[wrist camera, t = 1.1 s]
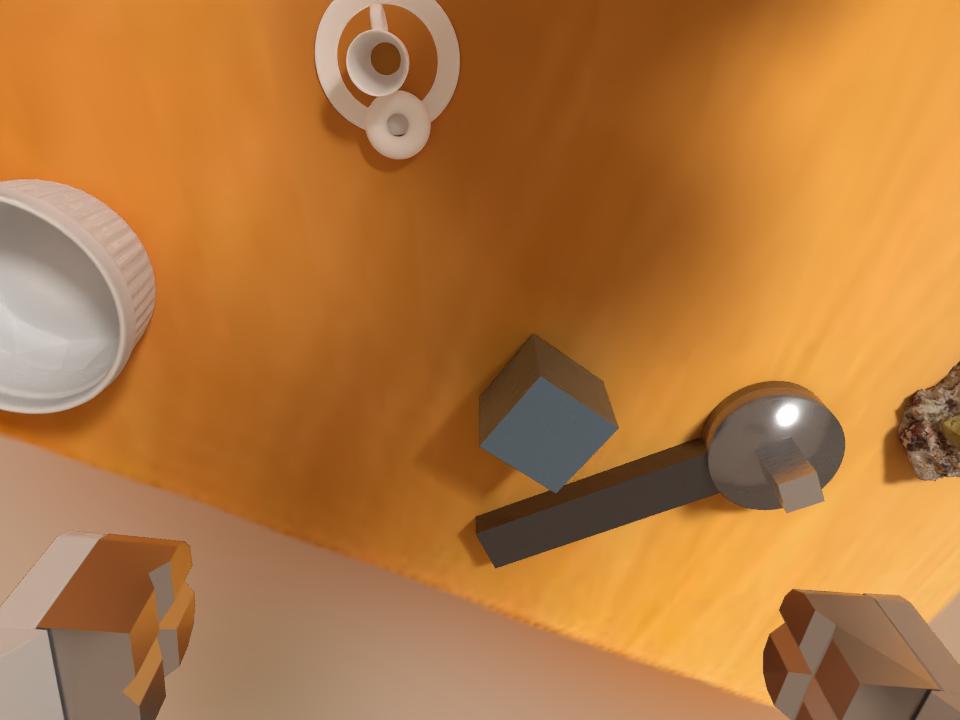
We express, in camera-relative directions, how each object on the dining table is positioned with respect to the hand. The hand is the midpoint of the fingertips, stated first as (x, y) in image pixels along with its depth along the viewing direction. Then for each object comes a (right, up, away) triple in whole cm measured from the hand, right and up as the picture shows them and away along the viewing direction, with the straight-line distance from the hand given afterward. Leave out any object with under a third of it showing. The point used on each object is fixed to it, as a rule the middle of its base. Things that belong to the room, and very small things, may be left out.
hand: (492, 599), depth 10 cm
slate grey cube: (+4, +1, +38) cm, 38 cm away
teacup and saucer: (-8, +18, +30) cm, 36 cm away
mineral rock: (+33, 0, +39) cm, 51 cm away
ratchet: (+12, -5, +41) cm, 43 cm away
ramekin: (-26, +9, +34) cm, 44 cm away
